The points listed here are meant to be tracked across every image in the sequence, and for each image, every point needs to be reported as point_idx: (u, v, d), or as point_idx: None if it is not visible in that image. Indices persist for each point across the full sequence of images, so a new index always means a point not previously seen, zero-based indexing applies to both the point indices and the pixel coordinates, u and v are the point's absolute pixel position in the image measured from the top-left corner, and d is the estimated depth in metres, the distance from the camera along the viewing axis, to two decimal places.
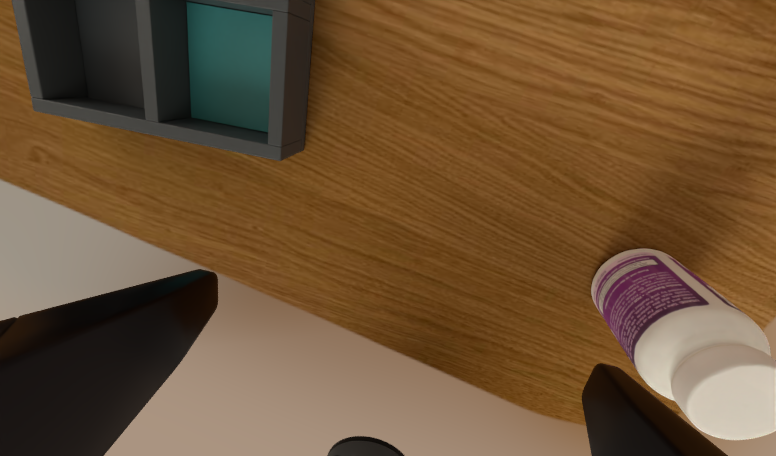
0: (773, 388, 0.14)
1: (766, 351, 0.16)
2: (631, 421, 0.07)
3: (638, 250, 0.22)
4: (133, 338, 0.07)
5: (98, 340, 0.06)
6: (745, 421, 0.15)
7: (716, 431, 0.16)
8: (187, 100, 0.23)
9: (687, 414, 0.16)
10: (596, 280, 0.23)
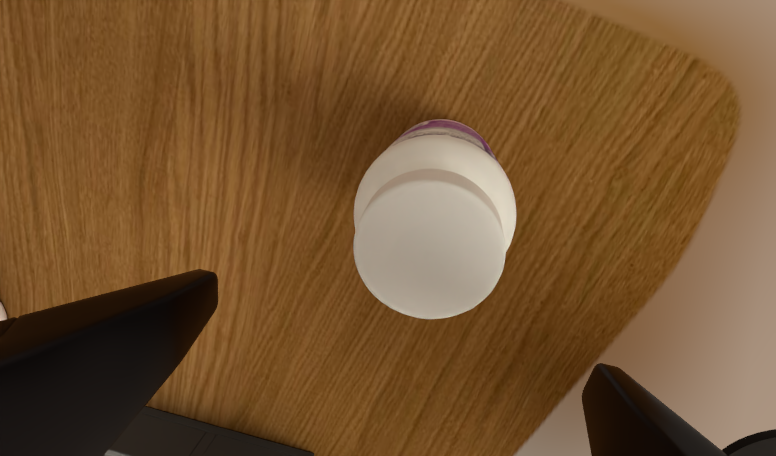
0: (390, 228, 0.10)
1: (394, 166, 0.11)
2: (631, 421, 0.07)
3: None
4: (133, 338, 0.07)
5: (98, 340, 0.06)
6: (459, 247, 0.09)
7: (485, 278, 0.10)
8: None
9: (457, 314, 0.10)
10: None
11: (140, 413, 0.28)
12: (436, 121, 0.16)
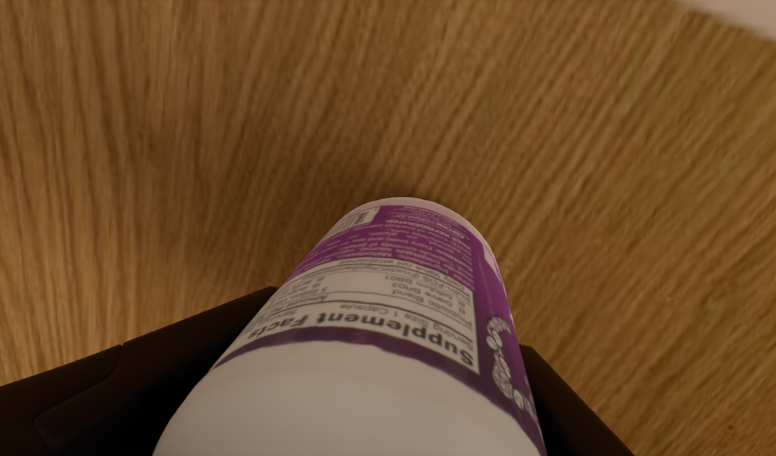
0: None
1: None
2: None
3: None
4: None
5: (200, 367, 0.06)
6: None
7: None
8: None
9: None
10: None
11: None
12: (390, 212, 0.08)
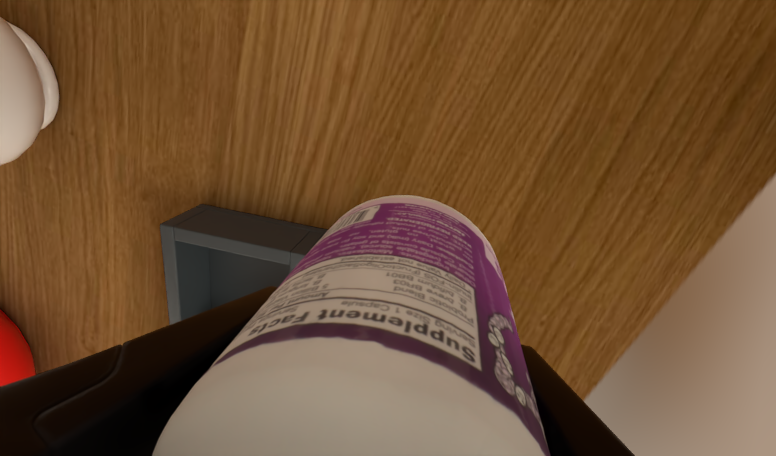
0: None
1: None
2: None
3: None
4: None
5: (200, 367, 0.06)
6: None
7: None
8: None
9: None
10: None
11: (225, 213, 0.22)
12: (390, 210, 0.08)
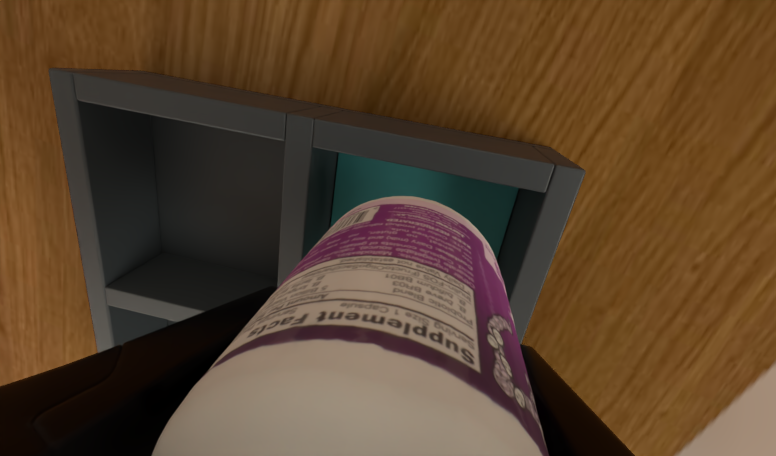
0: None
1: None
2: None
3: None
4: None
5: (200, 367, 0.06)
6: None
7: None
8: None
9: None
10: None
11: (178, 79, 0.13)
12: (389, 211, 0.08)
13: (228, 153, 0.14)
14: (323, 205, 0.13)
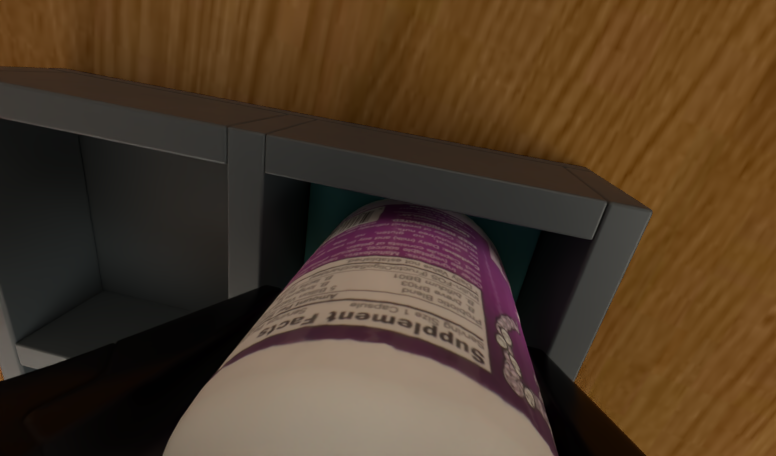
0: None
1: None
2: None
3: None
4: (219, 360, 0.07)
5: (193, 365, 0.06)
6: None
7: None
8: None
9: None
10: None
11: (106, 80, 0.10)
12: (395, 211, 0.08)
13: (175, 172, 0.11)
14: (291, 242, 0.10)
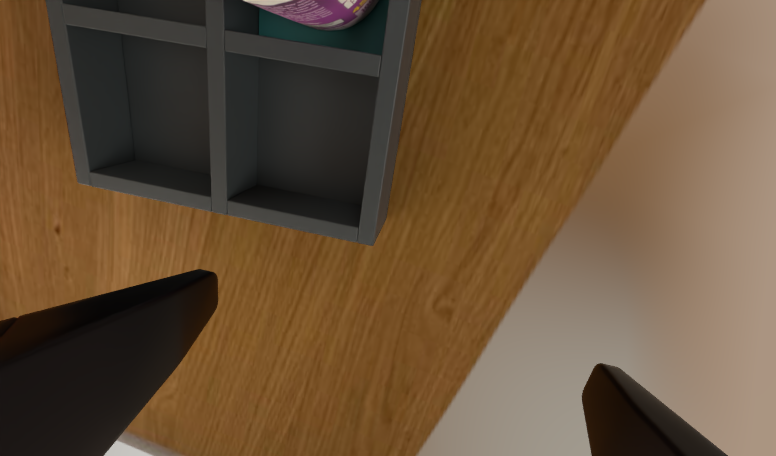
0: None
1: None
2: (631, 421, 0.07)
3: None
4: (133, 338, 0.07)
5: (98, 340, 0.06)
6: None
7: None
8: None
9: None
10: (318, 29, 0.16)
11: None
12: None
13: None
14: None
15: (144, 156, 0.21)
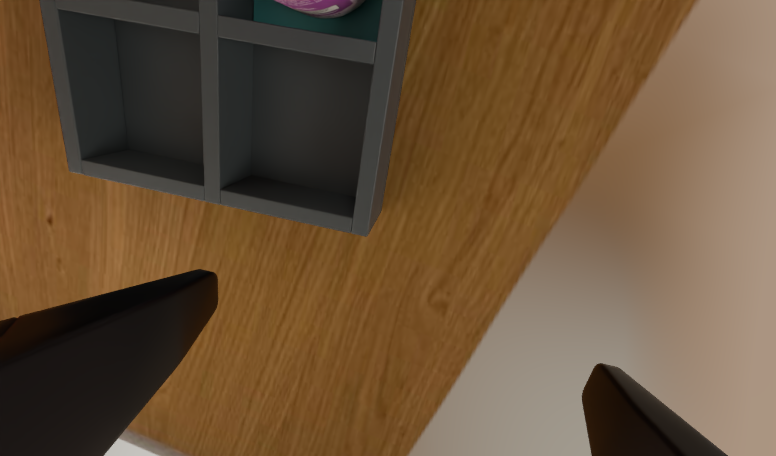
0: None
1: None
2: (631, 421, 0.07)
3: None
4: (133, 338, 0.07)
5: (98, 340, 0.06)
6: None
7: None
8: None
9: None
10: (313, 16, 0.16)
11: None
12: None
13: None
14: None
15: (137, 146, 0.21)
